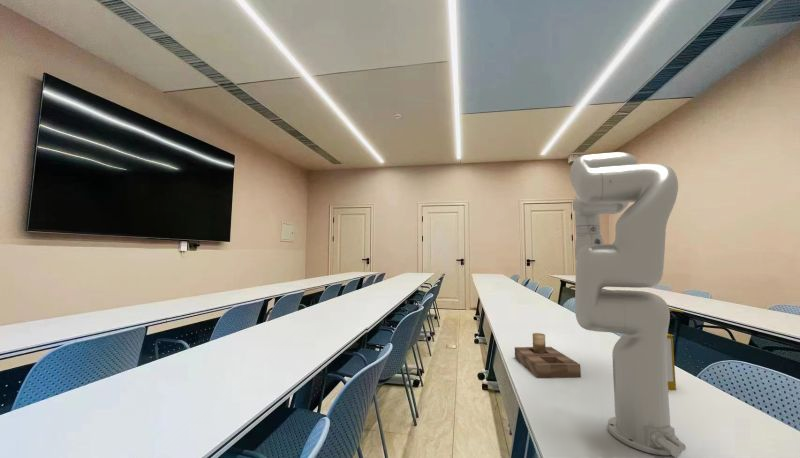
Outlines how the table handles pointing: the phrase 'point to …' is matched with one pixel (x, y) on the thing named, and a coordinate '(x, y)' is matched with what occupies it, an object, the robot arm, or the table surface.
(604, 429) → the table surface
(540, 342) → the peg
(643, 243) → the robot arm
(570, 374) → the board
